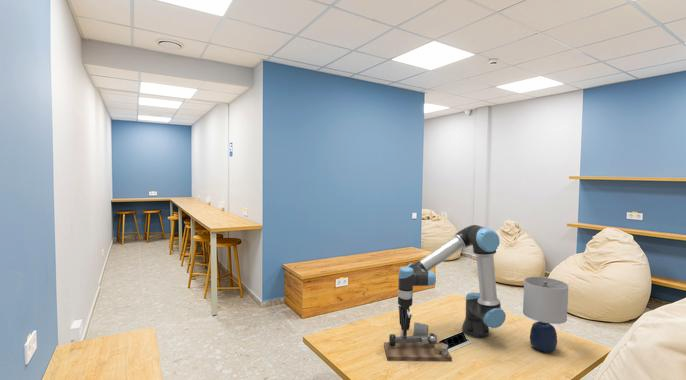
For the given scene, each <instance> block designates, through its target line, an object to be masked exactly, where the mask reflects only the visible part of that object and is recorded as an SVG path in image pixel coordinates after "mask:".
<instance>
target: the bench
mask: <svg viewBox="0 0 686 380" xmlns="http://www.w3.org/2000/svg"><path fill="white" fill-rule="evenodd" d="M435 344H441V345H442V350H441V354H436V353H435ZM435 344H432V343H429V342H428V344H422V343H421V342H418V343H396V344H395V346H390V345H389V342H388V341H386V342H383V348H384V351H385V355H386V360H387V361H388V362H390V361H392V362H393V361H394V362H399V361H400V362H403V361H404V362H452V361H453V357H452V355H451V354H450V352H449V345H448V344H446V343H444V342H437V343H435Z"/></svg>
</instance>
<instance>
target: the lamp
mask: <svg viewBox="0 0 686 380" xmlns="http://www.w3.org/2000/svg"><path fill="white" fill-rule="evenodd" d="M522 298H523V302H522V313H523V315H524V316H526V317H527V318H529V319H531V320H533V321H535V322H533V323H532V325H531V328H530V331H529V332H530V333H529V341H530V344H531V346H532V347H533V348H534V349H536V350H537V351H539V352H541V353H542V352H543V353H552V352H554V351H555V350H556V349H557V346H558V336H557V335H558V334H557V333H558V332H557V330H556V328H555V326H553V325H558V324H559V325H560V324H565V323H566V322H567V320H568V307H569V306H568V301H569V284H568V283H566V282H565V281H563V280H559V279H556V278H550V277H544V276H543V277H541V276H527V277H525V278H524V279H523V297H522Z"/></svg>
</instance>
